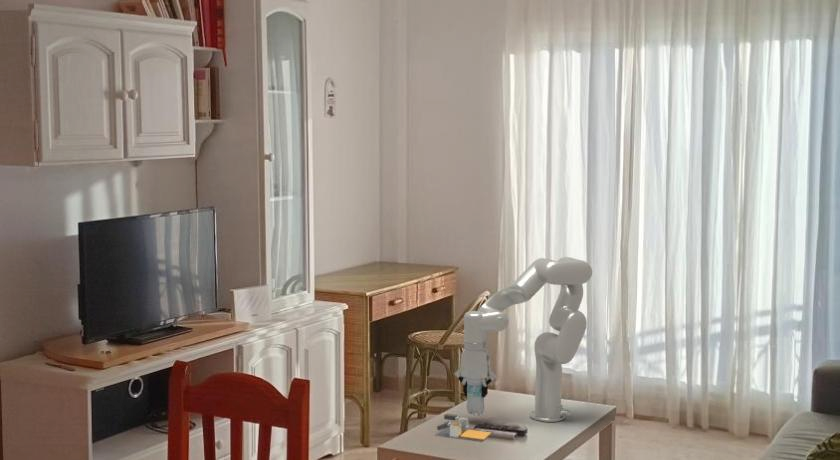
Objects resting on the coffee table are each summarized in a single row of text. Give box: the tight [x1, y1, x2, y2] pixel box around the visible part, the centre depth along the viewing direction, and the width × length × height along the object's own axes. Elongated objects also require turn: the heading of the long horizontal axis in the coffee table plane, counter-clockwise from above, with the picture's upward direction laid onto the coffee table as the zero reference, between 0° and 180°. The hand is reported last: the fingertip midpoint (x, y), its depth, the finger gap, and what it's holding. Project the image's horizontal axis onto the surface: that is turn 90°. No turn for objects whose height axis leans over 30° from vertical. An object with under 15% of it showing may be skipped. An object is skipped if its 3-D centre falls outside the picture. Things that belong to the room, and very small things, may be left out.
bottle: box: [466, 369, 485, 416], centre depth 366 cm, size 7×7×20 cm
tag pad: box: [460, 429, 492, 441], centre depth 353 cm, size 8×8×1 cm
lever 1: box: [436, 421, 453, 432], centre depth 352 cm, size 5×3×1 cm, turn 68°
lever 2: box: [443, 413, 461, 421], centre depth 359 cm, size 5×3×1 cm, turn 69°
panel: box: [434, 416, 493, 443], centre depth 354 cm, size 17×13×6 cm
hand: (475, 395), depth 366 cm, fingers closed on bottle, 5 cm apart
